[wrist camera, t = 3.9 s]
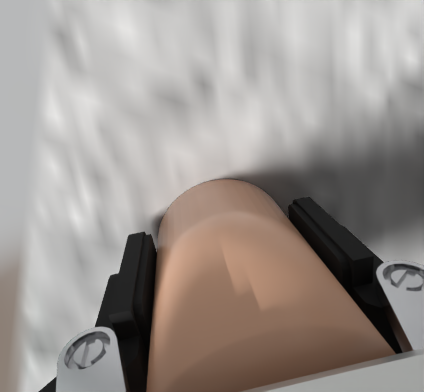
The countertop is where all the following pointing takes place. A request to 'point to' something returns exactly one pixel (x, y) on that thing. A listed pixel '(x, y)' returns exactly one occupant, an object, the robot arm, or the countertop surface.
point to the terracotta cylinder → (246, 298)
